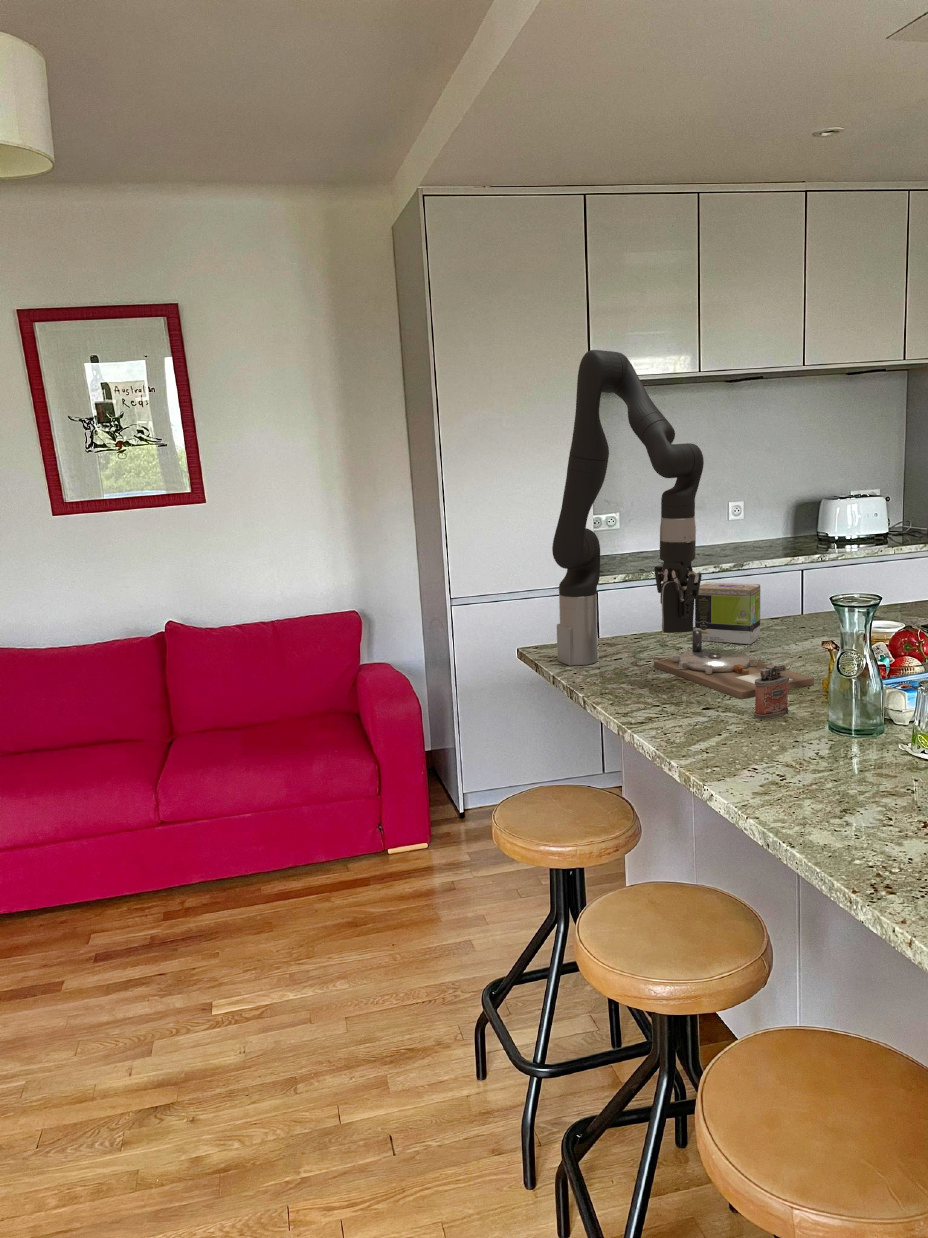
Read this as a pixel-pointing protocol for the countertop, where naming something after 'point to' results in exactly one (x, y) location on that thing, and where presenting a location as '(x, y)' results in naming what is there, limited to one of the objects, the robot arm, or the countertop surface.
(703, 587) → the tea box
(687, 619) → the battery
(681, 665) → the sprocket
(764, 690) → the lighter
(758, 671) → the board
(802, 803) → the countertop surface
